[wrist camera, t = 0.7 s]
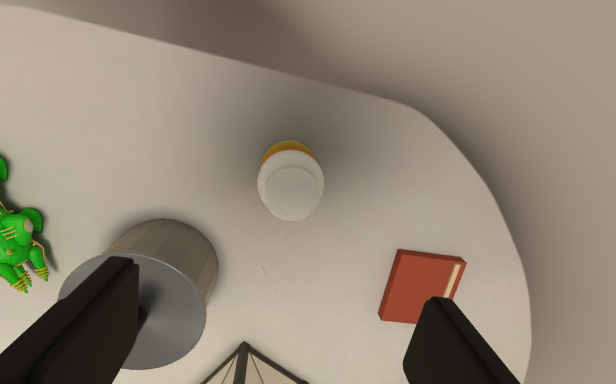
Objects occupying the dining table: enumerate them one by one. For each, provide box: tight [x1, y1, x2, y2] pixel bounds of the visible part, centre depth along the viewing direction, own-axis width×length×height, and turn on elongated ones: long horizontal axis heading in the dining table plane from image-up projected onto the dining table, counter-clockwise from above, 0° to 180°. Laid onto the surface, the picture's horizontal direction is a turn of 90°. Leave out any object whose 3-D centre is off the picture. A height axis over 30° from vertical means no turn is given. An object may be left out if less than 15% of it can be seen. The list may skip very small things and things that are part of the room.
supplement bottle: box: [257, 139, 324, 221], centre depth 26 cm, size 5×5×10 cm
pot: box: [101, 219, 218, 308], centre depth 29 cm, size 11×11×8 cm
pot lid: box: [57, 251, 207, 370], centre depth 24 cm, size 12×12×5 cm
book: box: [378, 249, 467, 324], centre depth 35 cm, size 9×8×2 cm
